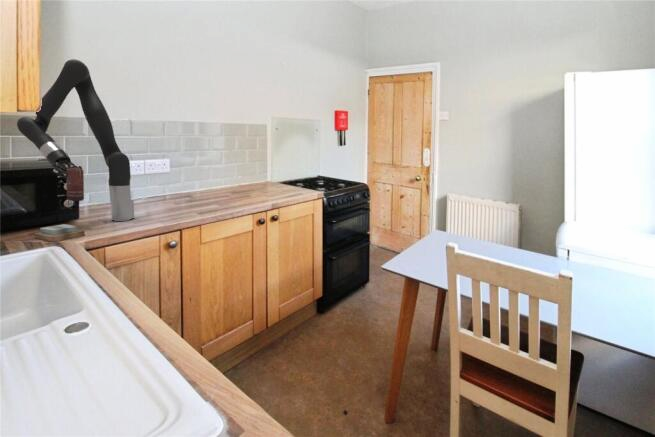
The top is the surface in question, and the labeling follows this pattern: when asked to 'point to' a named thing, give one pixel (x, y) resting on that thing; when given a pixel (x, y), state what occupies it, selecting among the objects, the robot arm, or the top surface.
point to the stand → (59, 232)
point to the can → (75, 184)
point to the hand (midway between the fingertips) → (80, 184)
